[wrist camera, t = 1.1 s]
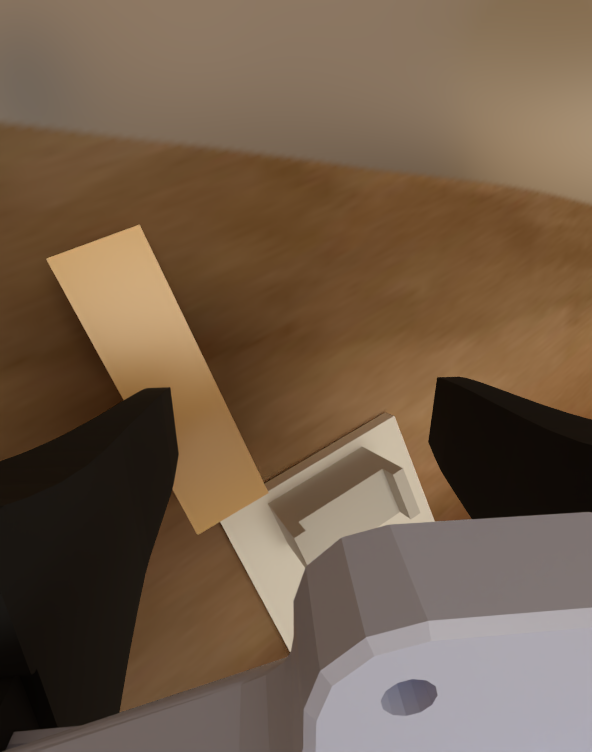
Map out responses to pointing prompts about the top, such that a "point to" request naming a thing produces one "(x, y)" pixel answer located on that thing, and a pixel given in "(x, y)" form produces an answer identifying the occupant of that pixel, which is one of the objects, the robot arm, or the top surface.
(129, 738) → the robot arm
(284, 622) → the display stand
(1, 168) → the top surface
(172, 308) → the wooden block with panels
